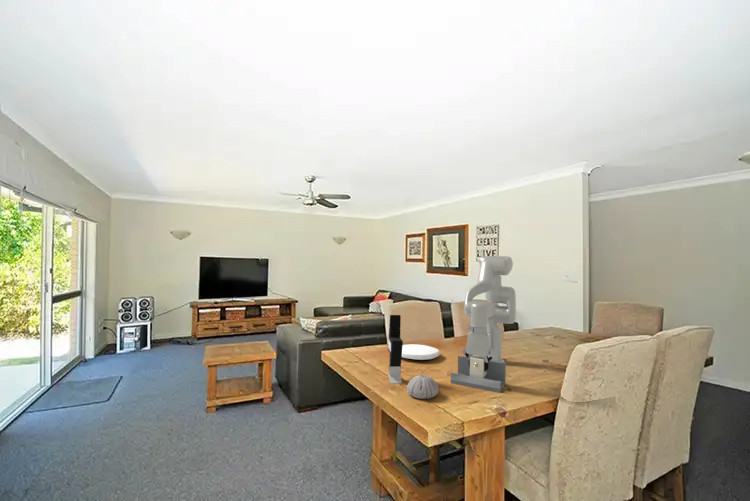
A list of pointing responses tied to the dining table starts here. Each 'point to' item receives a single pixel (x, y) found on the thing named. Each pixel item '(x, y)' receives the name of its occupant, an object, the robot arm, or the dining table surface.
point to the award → (395, 349)
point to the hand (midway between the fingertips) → (478, 368)
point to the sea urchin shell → (422, 387)
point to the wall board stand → (489, 382)
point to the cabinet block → (477, 366)
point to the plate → (419, 352)
